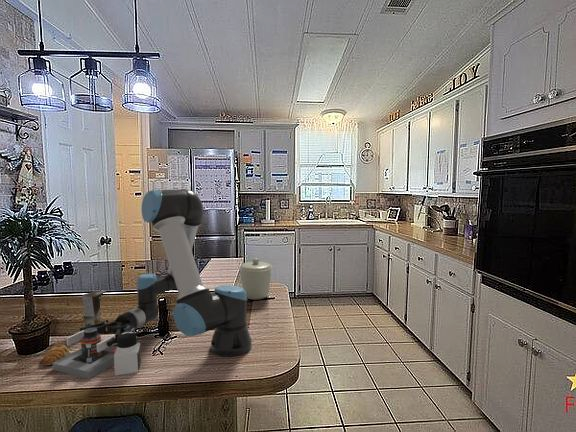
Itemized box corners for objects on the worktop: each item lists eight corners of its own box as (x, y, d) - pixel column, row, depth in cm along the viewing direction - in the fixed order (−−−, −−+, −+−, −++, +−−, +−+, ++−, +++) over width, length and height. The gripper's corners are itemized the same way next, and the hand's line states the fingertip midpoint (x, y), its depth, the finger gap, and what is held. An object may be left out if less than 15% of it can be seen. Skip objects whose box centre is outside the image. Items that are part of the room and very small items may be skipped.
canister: (272, 302, 179) (272, 262, 177) (237, 302, 179) (236, 262, 177) (273, 291, 197) (273, 254, 195) (241, 291, 197) (240, 254, 195)
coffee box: (96, 335, 141) (94, 296, 140) (83, 333, 143) (81, 295, 141) (113, 326, 150) (111, 289, 148) (101, 324, 152) (99, 288, 150)
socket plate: (128, 355, 125) (127, 346, 125) (89, 379, 110) (88, 369, 110) (94, 348, 130) (93, 339, 130) (53, 370, 115) (52, 360, 115)
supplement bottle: (93, 366, 117) (91, 334, 116) (77, 364, 118) (75, 332, 117) (105, 358, 123) (104, 327, 121) (91, 356, 124) (89, 325, 123)
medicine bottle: (138, 372, 114) (137, 337, 113) (114, 376, 112) (112, 340, 111) (141, 362, 121) (139, 328, 119) (118, 365, 119) (116, 331, 117)
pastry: (59, 366, 118) (58, 355, 118) (37, 368, 117) (36, 357, 116) (70, 352, 127) (69, 342, 127) (49, 354, 126) (49, 344, 126)
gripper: (156, 334, 133) (111, 362, 113) (106, 325, 141) (56, 349, 121) (155, 315, 132) (110, 340, 112) (105, 307, 140) (54, 328, 120)
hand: (82, 345), depth 116 cm, fingers open, 13 cm apart
